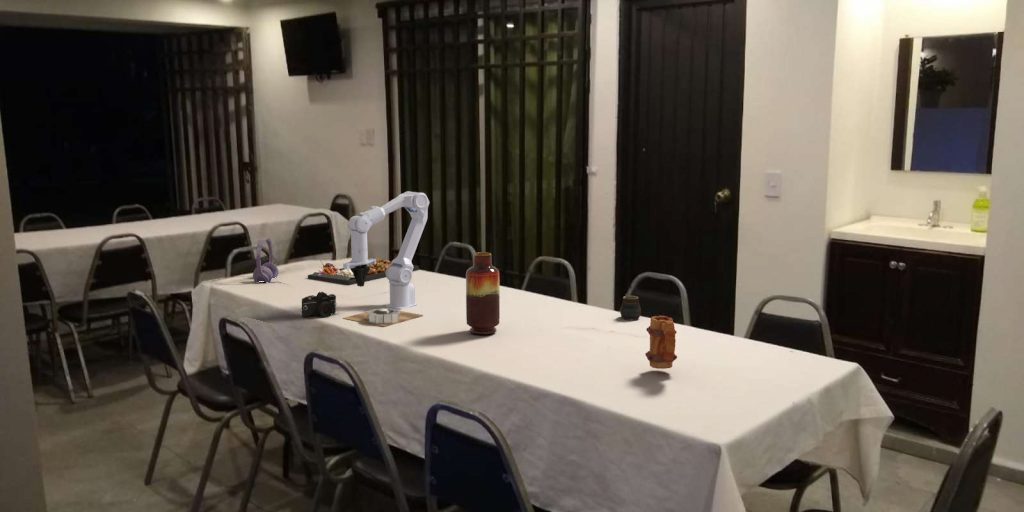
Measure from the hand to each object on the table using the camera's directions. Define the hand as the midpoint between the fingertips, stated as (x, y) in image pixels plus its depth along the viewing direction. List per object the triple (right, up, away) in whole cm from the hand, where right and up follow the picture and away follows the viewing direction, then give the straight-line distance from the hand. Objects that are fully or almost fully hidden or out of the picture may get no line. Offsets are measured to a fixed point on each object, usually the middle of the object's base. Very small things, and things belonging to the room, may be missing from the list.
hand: (360, 286), depth 299 cm
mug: (+97, -21, -69) cm, 121 cm away
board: (+9, -11, -6) cm, 16 cm away
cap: (+10, -11, -12) cm, 19 cm away
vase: (+45, -14, -26) cm, 54 cm away
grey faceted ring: (+10, -11, -12) cm, 19 cm away
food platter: (-11, 0, +69) cm, 70 cm away
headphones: (-52, -1, +59) cm, 79 cm away
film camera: (-15, -12, -5) cm, 20 cm away
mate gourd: (+97, -12, -9) cm, 98 cm away
